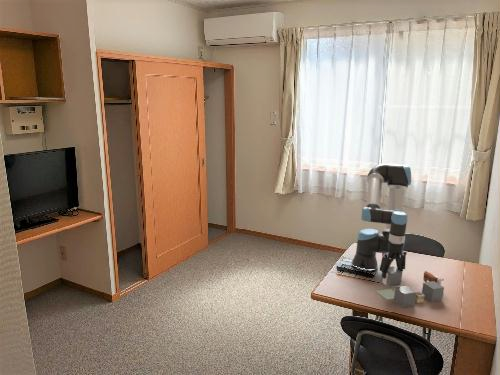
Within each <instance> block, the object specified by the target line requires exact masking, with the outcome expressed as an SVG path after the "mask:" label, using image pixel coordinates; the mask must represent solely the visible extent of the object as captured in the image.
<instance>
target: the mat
mask: <svg viewBox="0 0 500 375" xmlns="http://www.w3.org/2000/svg"><path fill="white" fill-rule="evenodd" d="M376 293H377V294H378V295H380V296H381V297H383V299H385V300H386V301H392V300H394V293H395V290H393V289H391V288H388V289H387V288H386V289H381V290H376Z"/></svg>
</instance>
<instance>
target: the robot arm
mask: <svg viewBox="0 0 500 375" xmlns="http://www.w3.org/2000/svg"><path fill="white" fill-rule="evenodd" d="M366 182H367V195H366V203H365V204H366V205H365V206H364V207H362V209H361V218H360V219H361V221H363V222H368V223H377V224H384V225H385V228H384V229H382V233H380V232H379V230H377V229H376V228H375V229H374V228H364V229H361V230H359V231H358V233H357V237H356V238H357V241H356V250H355V254H354V257H353V259H352V261H351V265H352V264H353V265H354V266H357V267H360V268H365V269H377V270H378V260H377V254H381V255H382V257H381V261H380V265H379V266H380V267H379V272H381V276H382V278H383V281H381V283H382V284H384V285H385V286H387V279H388V273H387V271H388V269H389V267H391V266H392V265H391V264H392V263H393V262H394V260H395V264H396V268H397V269H398V270H400V271H401V272H402V273H403V271H404V270H405V269H406V258H407V257H406V256H407V253H408V252H407V251H405V250H404V247H405V243H406V229H407V223H408V220H409V219H408V218H409V216H408V214H407V213H405V212H404V211H403V210H404V202H405V191H406V190H407V189H408V188H409V186H411V184H412V171H411V167H410V166H409V165H406V164H405V165H404V164H395V163H394V164H393V163H379V164H376V165H375V166H373V167H372V168H371V169H370V170H369V171H368V173H367V177H366ZM383 183H385V184H387V185H386V186H387V188H388V189H389V191H388V202H387V209H384V208H381V200H382V185H383ZM382 272H383V274H382Z"/></svg>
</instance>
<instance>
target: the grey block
mask: <svg viewBox="0 0 500 375" xmlns="http://www.w3.org/2000/svg"><path fill="white" fill-rule="evenodd" d="M394 287H395V288H394V292H395V293H394V299H393V302H394V303H396V304H397V305H399V306H400V307H401V308H403V309H404V308H408V307H414V306H415V303H416V302H415V297H416V292H417V291H415V290H414V289H413V288H411V287H409V286H408V285H402V286H401V285H400V286H394Z"/></svg>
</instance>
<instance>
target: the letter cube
mask: <svg viewBox="0 0 500 375" xmlns="http://www.w3.org/2000/svg"><path fill="white" fill-rule="evenodd" d="M415 292H416V297H415V303H417V304H420V303H424V302H425V298H424V297H425V295H424V294H422V291H415Z"/></svg>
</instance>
